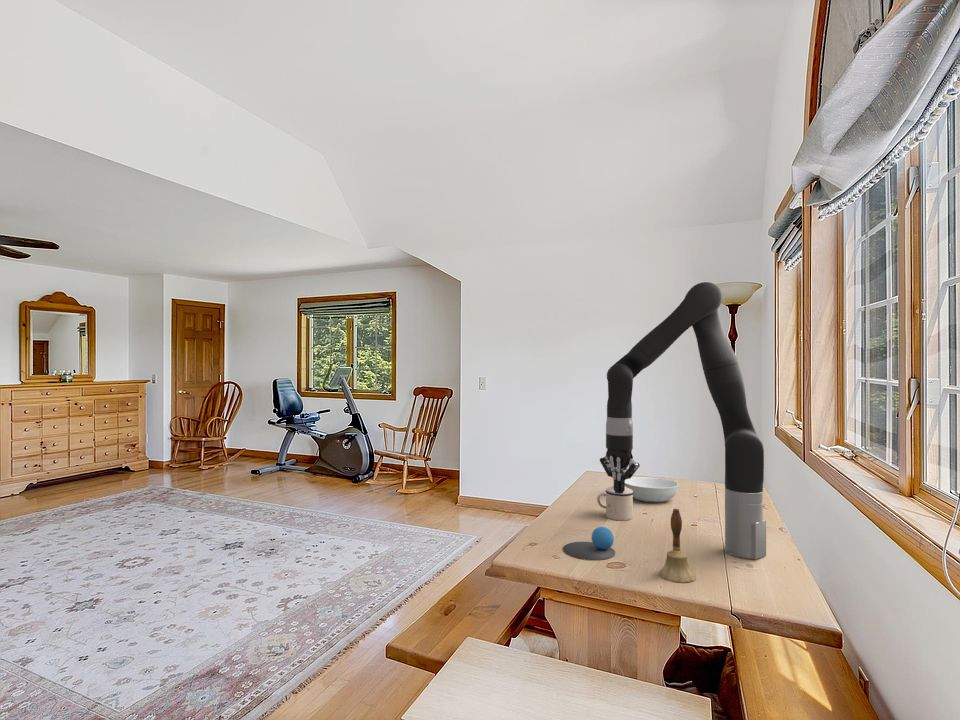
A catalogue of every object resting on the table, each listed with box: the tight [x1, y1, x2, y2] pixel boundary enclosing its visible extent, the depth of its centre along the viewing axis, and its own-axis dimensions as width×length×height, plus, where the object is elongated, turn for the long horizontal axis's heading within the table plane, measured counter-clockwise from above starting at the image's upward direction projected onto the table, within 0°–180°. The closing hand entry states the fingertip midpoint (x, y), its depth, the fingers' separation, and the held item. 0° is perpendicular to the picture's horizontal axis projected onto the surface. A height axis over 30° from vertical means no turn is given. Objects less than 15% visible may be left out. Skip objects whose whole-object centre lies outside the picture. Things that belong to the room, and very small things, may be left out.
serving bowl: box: [625, 476, 680, 503], centre depth 198 cm, size 21×21×7 cm
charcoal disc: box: [562, 541, 616, 561], centre depth 141 cm, size 14×14×1 cm
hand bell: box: [658, 508, 696, 584], centre depth 124 cm, size 8×8×16 cm
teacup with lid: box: [596, 485, 634, 521], centre depth 174 cm, size 12×9×12 cm
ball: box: [591, 526, 615, 550], centre depth 142 cm, size 6×6×6 cm
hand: (619, 492), depth 149 cm, fingers closed
